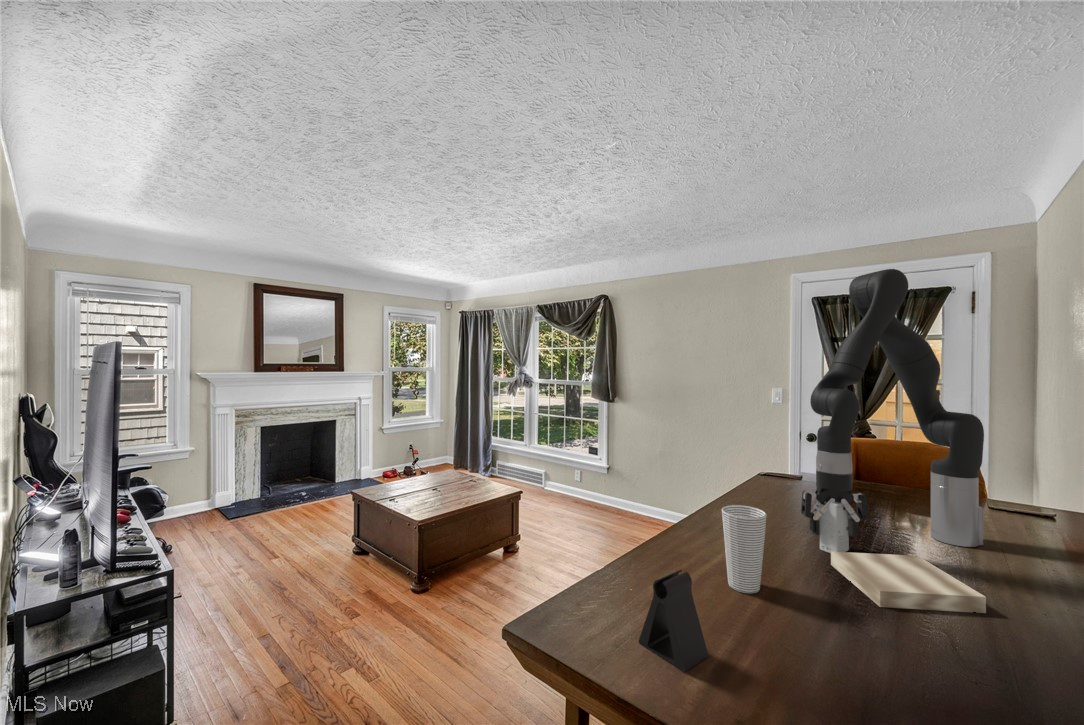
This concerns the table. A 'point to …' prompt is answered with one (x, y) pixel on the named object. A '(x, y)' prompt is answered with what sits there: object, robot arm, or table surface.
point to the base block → (907, 582)
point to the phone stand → (674, 623)
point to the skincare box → (834, 528)
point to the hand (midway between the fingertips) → (833, 535)
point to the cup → (744, 546)
